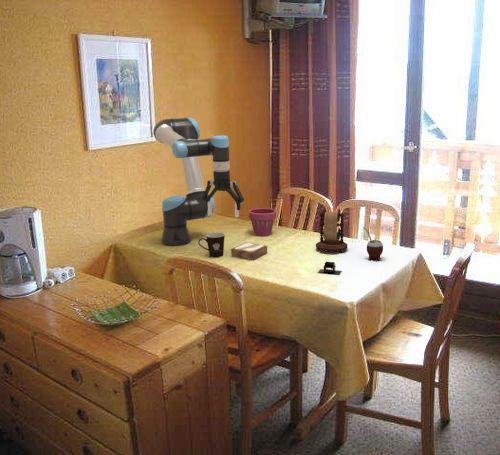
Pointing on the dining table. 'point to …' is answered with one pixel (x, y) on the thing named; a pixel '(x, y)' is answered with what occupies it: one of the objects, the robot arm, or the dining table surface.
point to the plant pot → (262, 220)
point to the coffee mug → (214, 244)
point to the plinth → (249, 251)
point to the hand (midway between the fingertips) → (223, 216)
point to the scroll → (331, 232)
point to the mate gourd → (374, 248)
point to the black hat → (328, 271)
